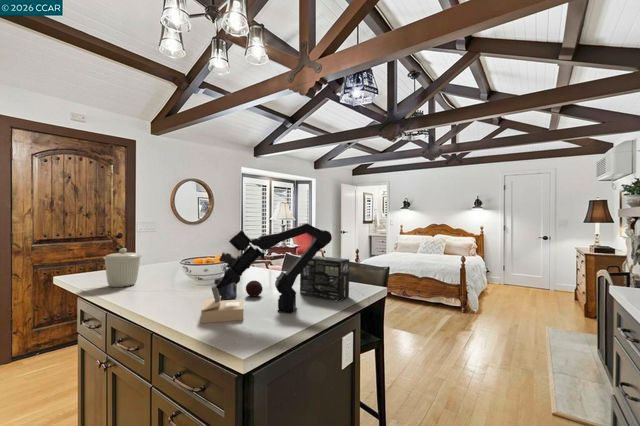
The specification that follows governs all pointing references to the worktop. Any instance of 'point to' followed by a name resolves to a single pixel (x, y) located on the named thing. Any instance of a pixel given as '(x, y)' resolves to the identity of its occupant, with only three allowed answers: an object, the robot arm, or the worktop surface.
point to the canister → (122, 268)
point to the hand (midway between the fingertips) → (216, 288)
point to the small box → (227, 290)
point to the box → (325, 278)
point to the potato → (254, 288)
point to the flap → (212, 300)
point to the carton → (224, 312)
